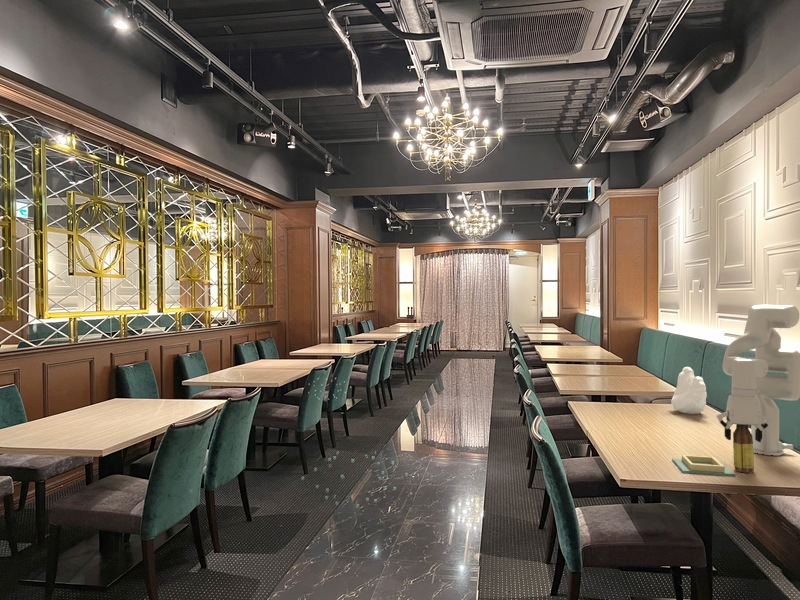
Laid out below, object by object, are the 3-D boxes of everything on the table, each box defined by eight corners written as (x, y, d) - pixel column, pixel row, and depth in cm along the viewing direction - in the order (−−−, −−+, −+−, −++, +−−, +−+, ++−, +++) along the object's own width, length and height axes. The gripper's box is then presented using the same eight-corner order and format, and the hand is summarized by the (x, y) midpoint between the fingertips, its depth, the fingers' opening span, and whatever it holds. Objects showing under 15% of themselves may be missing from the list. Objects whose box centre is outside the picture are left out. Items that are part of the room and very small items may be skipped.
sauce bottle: (755, 470, 198) (755, 416, 198) (752, 474, 193) (752, 419, 193) (734, 467, 202) (734, 413, 202) (731, 471, 198) (731, 416, 198)
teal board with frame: (721, 463, 206) (721, 456, 206) (735, 476, 192) (735, 468, 192) (672, 460, 210) (672, 453, 210) (682, 472, 196) (682, 464, 196)
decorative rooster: (668, 408, 308) (668, 364, 308) (699, 410, 304) (699, 365, 304) (680, 418, 284) (680, 370, 284) (713, 420, 280) (713, 371, 280)
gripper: (766, 392, 199) (765, 439, 199) (713, 390, 203) (713, 436, 203) (775, 395, 192) (774, 444, 192) (720, 393, 196) (720, 440, 196)
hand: (743, 440), depth 197 cm, fingers open, 9 cm apart
